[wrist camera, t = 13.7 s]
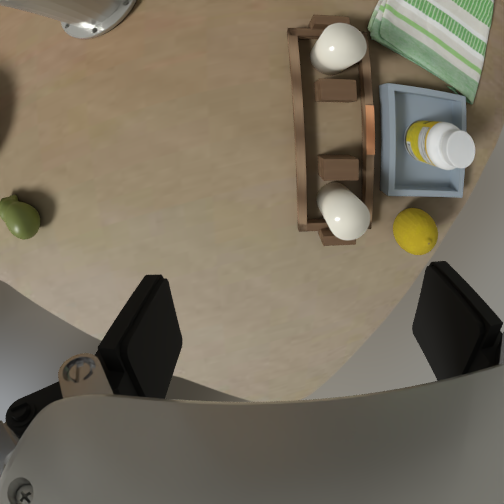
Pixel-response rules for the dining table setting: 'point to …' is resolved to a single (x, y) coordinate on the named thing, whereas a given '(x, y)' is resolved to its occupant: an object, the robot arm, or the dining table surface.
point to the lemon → (415, 231)
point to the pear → (19, 217)
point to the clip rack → (332, 92)
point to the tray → (393, 149)
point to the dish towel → (437, 37)
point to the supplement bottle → (439, 144)
